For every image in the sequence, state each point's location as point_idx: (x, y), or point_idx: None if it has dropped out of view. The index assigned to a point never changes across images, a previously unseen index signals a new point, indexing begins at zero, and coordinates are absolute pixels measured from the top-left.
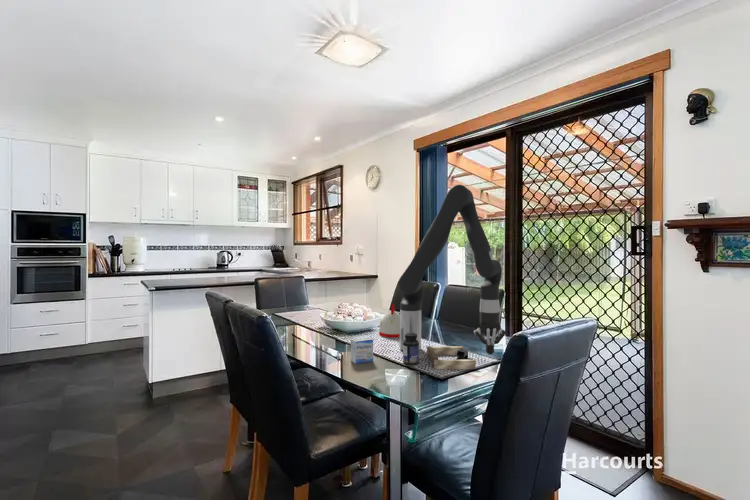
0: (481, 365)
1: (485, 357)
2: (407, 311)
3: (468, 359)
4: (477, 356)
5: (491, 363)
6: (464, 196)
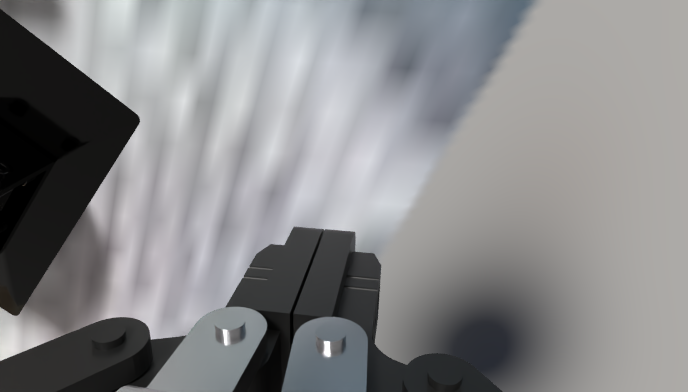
0: None
1: (328, 73)
2: None
3: (63, 174)
4: (219, 14)
5: None
6: None
